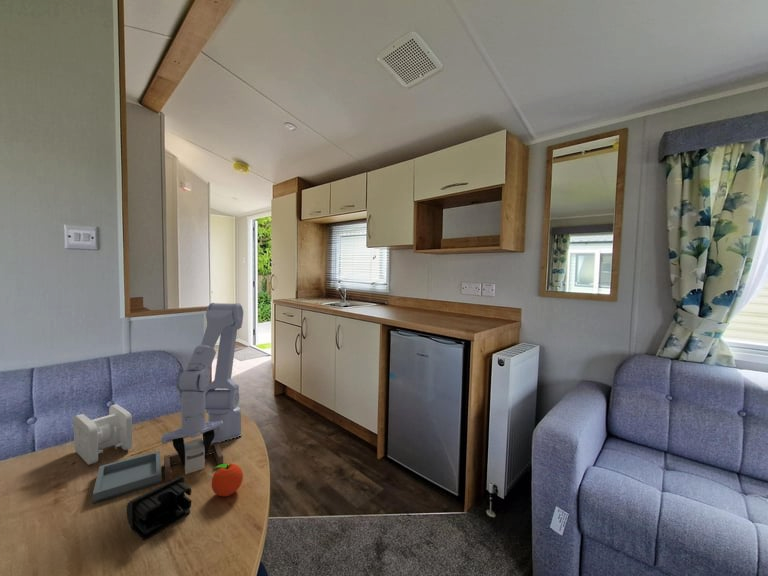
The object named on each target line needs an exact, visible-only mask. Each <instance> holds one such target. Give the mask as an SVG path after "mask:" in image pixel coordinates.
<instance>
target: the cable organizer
mask: <svg viewBox="0 0 768 576" xmlns="http://www.w3.org/2000/svg"><path fill="white" fill-rule="evenodd" d="M108 409H109V410H108V411H109V414H108V415H105V416H102V417H98V418H94V419H93V418H92V419H90V418H89V417H88V416H86V415H85V414H84V413H81V414H77V415H74V416H73V419H72V421H73V422H72V424H73V447H74V450H75V453H77V454H78V455H79V457H80V458H81V459H82V460H83V461H84V462H85V463H86V464H87V465H93V464H96V463H97V462H98V461H99V454H101V455H104V449H106V448H109V447H112V446H114V449H115V450H117V448H118V447H119V448H121V449H123V451H128V450H129V449H132V447H133V417H132V414H131V412H129V411H128V410H126V409H125V408H123V407H122V406H120V405H119V404H117V403H115V404H112V405H110V406H109V408H108Z"/></svg>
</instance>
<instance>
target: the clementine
mask: <svg viewBox="0 0 768 576" xmlns="http://www.w3.org/2000/svg"><path fill="white" fill-rule="evenodd" d="M216 468H217V470H216V471H215V472H214V473H213V476H212V478H211V489H212V491H213V492H214V494H216V495H217V496H219V497H229V496H231V495H233V494H234V493H236V492H237V491H238V490H239V489H240V487H241V486H242V483H243V479H244V473H243V470H242V468H241V467H240V466H239V465H238V464H236V463H223V464H221V465H218V464H217V466H215V467H214V469H216ZM214 469H212V470H211V472H213V471H214Z"/></svg>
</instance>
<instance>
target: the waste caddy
mask: <svg viewBox="0 0 768 576" xmlns="http://www.w3.org/2000/svg"><path fill="white" fill-rule="evenodd" d="M184 458H185V465H184V466H183V467H184V474H185V475H188V474H191V473H194V472H197V471H200V470H204V469H205V467H206V466H205V465H206V459H205V447H204V444H203V437H199V438H196V439H193V440H188V441H184Z"/></svg>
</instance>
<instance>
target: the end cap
mask: <svg viewBox="0 0 768 576" xmlns="http://www.w3.org/2000/svg"><path fill="white" fill-rule="evenodd" d="M187 495H188V496H191V495H192V489H191V487H189V486H188V485H186V483H185V477H184V476H177V477H175V478H174V479H171V481H169V482H166V483H164V484H162V485H160V486H158V487H156V488H154V489H152V490H150V491H147V492H145V493H144V494H141V495H139V496H137V497H135V498H133V499H132V500H129V501H128V503H127V505H126V517H127V522H128V523H127V524H128V525H129V528H130V529H131V530H132V532H134V533H135V534H136V535H137V536H138V537H139V538H140V539H141V540H142V541H147V540H149V539H151V538H153V537H154V536H155V535H157V534H159V533H161V532H162V531H163V530H166V529H167V528H168V527H170V526H172V525H173V524H176V523H177V522H179V521H180V520H182V519H184V518H186V517H187V516H189V515H190V514H191V508H192V502H193V501H192V500H191V499H190V498H189V497H188V496H187Z"/></svg>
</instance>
